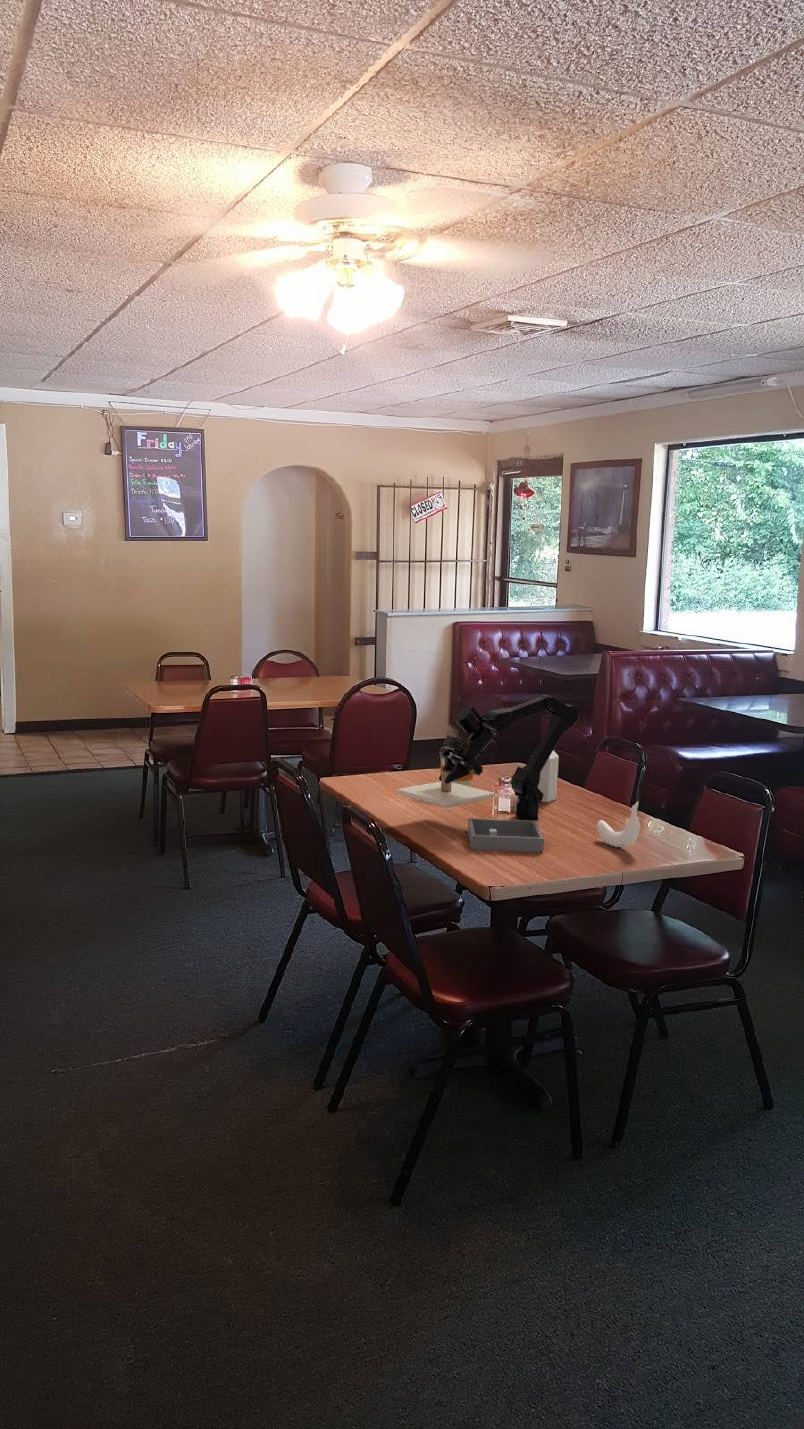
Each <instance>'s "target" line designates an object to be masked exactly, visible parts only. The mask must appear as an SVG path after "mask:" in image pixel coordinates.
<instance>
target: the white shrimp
mask: <svg viewBox="0 0 804 1429" xmlns="http://www.w3.org/2000/svg"><path fill="white" fill-rule="evenodd" d="M638 806H639V801H636V803H635V804H633V805H632V806H631V814H630V815H629V816H630V817H629V819H628V821H627V823H626V825H625V828H624V829H623V830H621V831H615V830H614V829H613V828H612V827H611V826H610V825H609V824H608V823H607V822H606V821H605V820H602V819H600V820H598V821H597V824H596V825H597V826H596V830H597V833H598V834H599V836H600V838H601V839H602V840H603V842H605V844H607V845H608V844H609V845H608V846H610V845H612V846H611V847H613V846H615V847H614V848H617V847H621V849H622V848H623V847H624V848H627V847H629V846H632V844H633V843H634V842H635V841H636V840H637V838H638V836H639V833H640V830H641V822H640V820H639V818H638V814H637V812H638Z"/></svg>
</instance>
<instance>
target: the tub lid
mask: <svg viewBox="0 0 804 1429" xmlns="http://www.w3.org/2000/svg"><path fill="white" fill-rule="evenodd" d="M450 772H451V771H442V774H441V773H440V775H441V781H436V782H435V781H434V782H430V783H425V784H420V785H414V786H408V787H401V788H397V789H396V792H397V793H398V794H401V795H405V797H406V798H409V799H413V800H417V801H420V802H425V803H428V804H432V805H435V806H438V807H439V806H440V807H442V808H453V807H458V806H461V805H467V804H471V803H472V804H473V803H477V802H482V801H487V799H489V798H493V797H495V796H496V793H495V792H492V791H489V790H488V791H487V790H484V789H480V788H476V787H472V786H470V787H469V786H465V785H461V784H457V783H453V782H450V783H448V784H446V783H445V782H444V781H445V779H446V778H447V776H448V775H449V773H450Z"/></svg>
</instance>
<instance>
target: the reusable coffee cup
mask: <svg viewBox="0 0 804 1429" xmlns="http://www.w3.org/2000/svg"><path fill="white" fill-rule="evenodd" d="M443 747H444V746H442V747H441V748H440V750H441V749H442V748H443ZM446 747H448V748H450V749H452V750H453V749H454V748H451V747H449V746H447V745H446ZM439 758H440V764H439V766H440V767H439V768H440V769H439V770H440V774H441V773H442V770H443V768H444V765H445V758H444V757H443V756H442V755H441V754H440V753H439ZM473 772H474V771H473V770H471V771H470V773H471V775H467V776H464V777H462V778H459V779H457V780H454V781H452V782H453V783H457V784H461V785H465V786H469V787H471V783H472V781H473V779H474V775H475V774H474V773H473Z"/></svg>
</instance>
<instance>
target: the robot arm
mask: <svg viewBox="0 0 804 1429" xmlns="http://www.w3.org/2000/svg"><path fill="white" fill-rule="evenodd" d="M543 711H547V712H548V713H550V716H549V726H548V728H547V730H546V731H545V733H544V734H543V736H542V739H541V740H540V742H539V744H538V745H537V747H536V748H535V750H534V752H533V753H532V755H531V756H532V757H530V758H529V760H528V762H527V763H526V764H525V765H524V766H523V767H521V766H517V767H516V769H515V770H514V773H513V774H512V775H511V781H510V786H511V789H512V790H513V791H514V795H515V797H517V801H515V810H514V811H515V813H514V814H515V816H516V818H517V820H529V821H538V820H539V807H540V806H539V802H541V801H542V798H543V796H544V794H543V793H542V792H541V791H540V790H539V789H538V785H539V782H540V772H541V770H542V769H543V767H544V765H545V764H546V762H547V760H548V758H549V757H550V755H551V753H552V752H553V750H554V751H555V748H556V747H557V745H558V743H559V742H560V739H561V738H562V736H563V735H564V733H566V732H568V731H569V730H570V729H571V728H573V726H575V724H576V723H577V722H578V720H579V718H580V714H579V709H578V708H577V707H576V706H574V705H570V704H567V703H563V702H561V701H559V700H558V699H556V698H555V697H553V696H552V695H547V694H541V695H540V696H537V697H535V698H533V699H530V700H527V701H525V702H522V703H518V704H517V705H514V706H512V707H506V708H495V709H491V710H489V711H487V712H486V713H485V714H479V713H478V711H477V709H476V708H475V707H474V706H473V705H469V706H467V707H466V708H463V709H462V710H460V711H458V712H457V713H456V715H455V717H454V721H455V722H456V724H458V725H459V727H460V728H462V730H463V731H464V732H465V733H466V734H467V735H469V734H471V735H470V736H469V737H467V738H464V737H462V736H457V737H454V736H452V735H450V734H447V735H446V737H445V738H444V740H443V744H442V745H444V746H442V747H443V748H442V747H441V748H442V749H441V748H440V750H439V751H438V753H439V755H440V754H441V755H442V756H443V757H444V758H445V765H444V768H443V770H442V771H451V772H450V773H449V775H448V776H447V778H446V779H445V781H444V782H445V783H446V784H448V783H450V782H452V781H454V780H457V779H459V778H462V777H464V776H467V775H471V773H470V771H471V770H473V771H474V772H473V773H474V775H475V776H477V777H480V775H481V774H482V773H483V772H484V770H483V769H484V767H483V765H482V764H480V762H479V761H478V760H477V758H478V757H479V756H480V757H482V756H483V755H484V753H483V751H484V750H485V748H486V747H488V745H490V743H491V742H492V743H495V744H499V734H498V733H494V732H493V731H492V730H494V731H497V732H504V731H506V730H507V729H509V728H511V727H512V726H513V725H514V724H515V723H516V722H517V721H519V720H523V719H525V718H528V717H531V716H533V715H535V714H538V713H541V712H543ZM484 725H485V726H484ZM447 746H449V747H451V748H454V749H453V750H452V749H450V748H448V747H447ZM441 774H442V773H441V772H440V776H439V777H438V780H439V782H441Z"/></svg>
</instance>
